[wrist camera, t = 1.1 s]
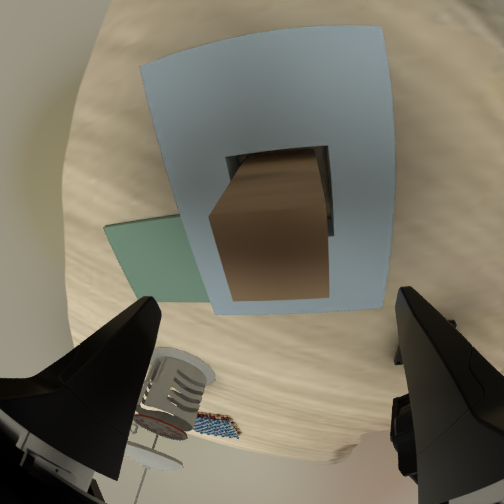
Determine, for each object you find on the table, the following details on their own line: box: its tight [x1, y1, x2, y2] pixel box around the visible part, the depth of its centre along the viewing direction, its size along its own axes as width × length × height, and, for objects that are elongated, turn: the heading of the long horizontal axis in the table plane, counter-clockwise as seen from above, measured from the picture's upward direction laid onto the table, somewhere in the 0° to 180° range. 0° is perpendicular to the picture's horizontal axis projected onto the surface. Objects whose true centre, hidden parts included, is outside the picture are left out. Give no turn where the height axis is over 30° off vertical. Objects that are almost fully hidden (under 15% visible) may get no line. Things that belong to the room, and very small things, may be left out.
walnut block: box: [208, 149, 329, 302], centre depth 15 cm, size 4×4×9 cm
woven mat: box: [193, 412, 242, 439], centre depth 47 cm, size 10×11×2 cm
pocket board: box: [140, 25, 395, 315], centre depth 18 cm, size 20×14×2 cm
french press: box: [125, 347, 215, 504], centre depth 25 cm, size 10×12×25 cm
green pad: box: [103, 215, 210, 302], centre depth 25 cm, size 9×9×1 cm
